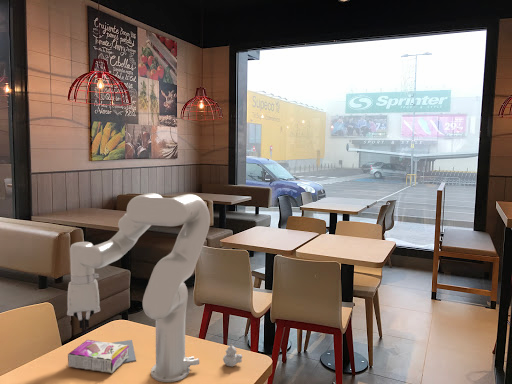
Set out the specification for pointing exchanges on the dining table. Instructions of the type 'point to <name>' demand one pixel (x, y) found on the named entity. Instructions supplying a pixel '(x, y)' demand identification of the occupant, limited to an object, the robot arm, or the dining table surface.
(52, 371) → the dining table surface
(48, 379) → the dining table surface
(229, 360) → the white lumpy figure
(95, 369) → the candy bar box
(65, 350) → the dining table surface
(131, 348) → the mat
